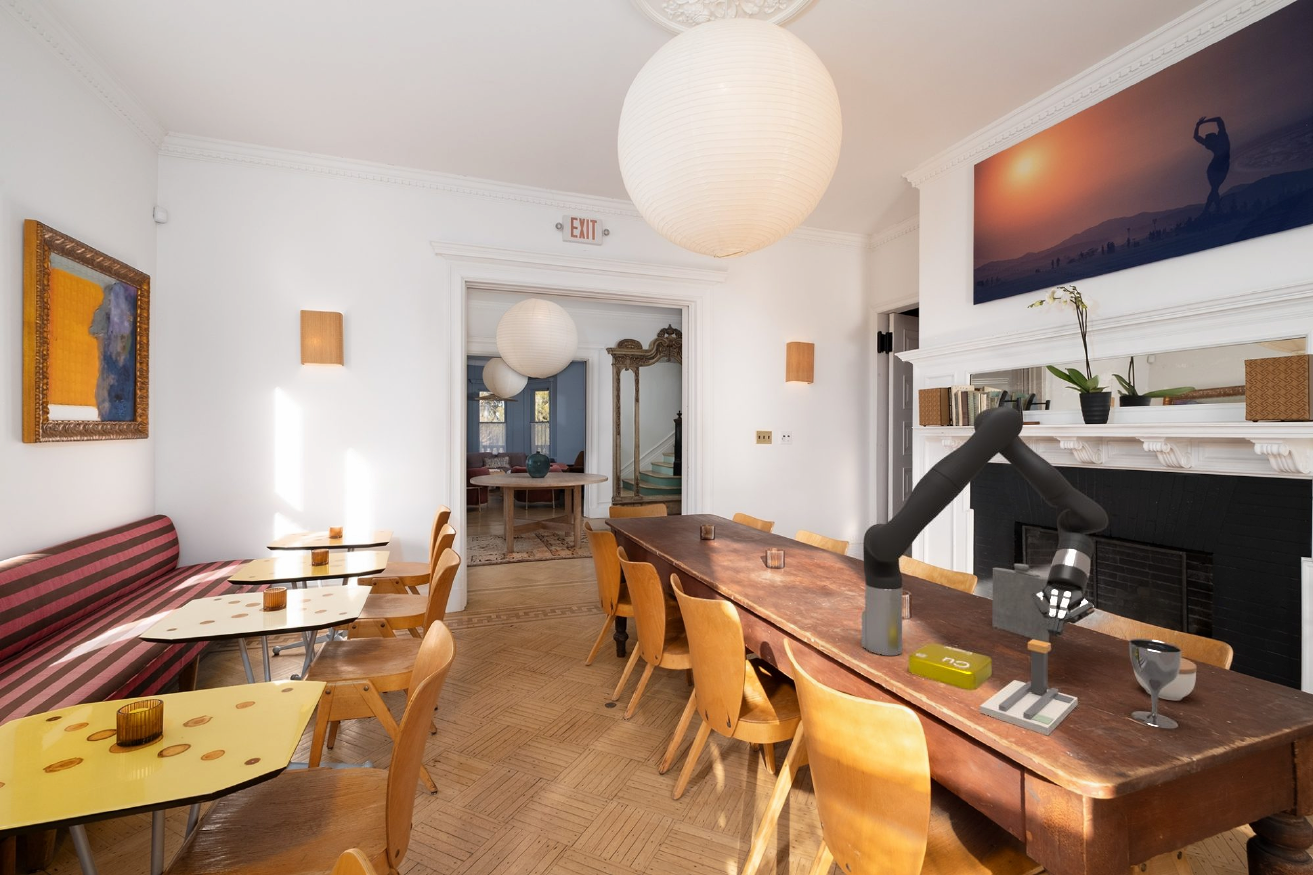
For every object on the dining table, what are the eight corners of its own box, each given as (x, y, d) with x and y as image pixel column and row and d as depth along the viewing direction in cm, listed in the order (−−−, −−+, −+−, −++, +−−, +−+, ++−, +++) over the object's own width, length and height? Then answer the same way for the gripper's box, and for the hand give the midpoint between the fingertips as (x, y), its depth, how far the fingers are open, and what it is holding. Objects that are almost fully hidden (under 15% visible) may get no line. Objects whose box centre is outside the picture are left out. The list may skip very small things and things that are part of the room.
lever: (1027, 691, 126) (1027, 642, 126) (1032, 687, 129) (1032, 639, 129) (1045, 697, 124) (1045, 646, 124) (1050, 692, 126) (1050, 643, 126)
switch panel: (980, 713, 120) (980, 700, 120) (1014, 686, 133) (1014, 675, 133) (1047, 735, 111) (1047, 722, 111) (1077, 704, 124) (1077, 693, 124)
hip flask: (990, 626, 177) (990, 559, 177) (998, 624, 179) (999, 558, 179) (1044, 642, 163) (1045, 570, 163) (1053, 640, 164) (1053, 569, 164)
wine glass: (1118, 711, 122) (1119, 638, 122) (1154, 709, 122) (1154, 638, 122) (1154, 730, 114) (1155, 652, 114) (1192, 728, 114) (1192, 651, 114)
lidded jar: (1120, 683, 135) (1120, 643, 135) (1168, 684, 135) (1168, 644, 135) (1158, 704, 125) (1159, 660, 125) (1210, 706, 124) (1210, 661, 124)
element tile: (994, 675, 141) (994, 655, 141) (972, 693, 131) (973, 672, 131) (929, 658, 152) (929, 639, 152) (905, 673, 141) (905, 654, 141)
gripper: (1034, 558, 144) (1016, 618, 136) (1100, 567, 134) (1085, 632, 126) (1040, 577, 148) (1024, 636, 140) (1105, 587, 138) (1092, 651, 130)
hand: (1053, 634), depth 133 cm, fingers closed
